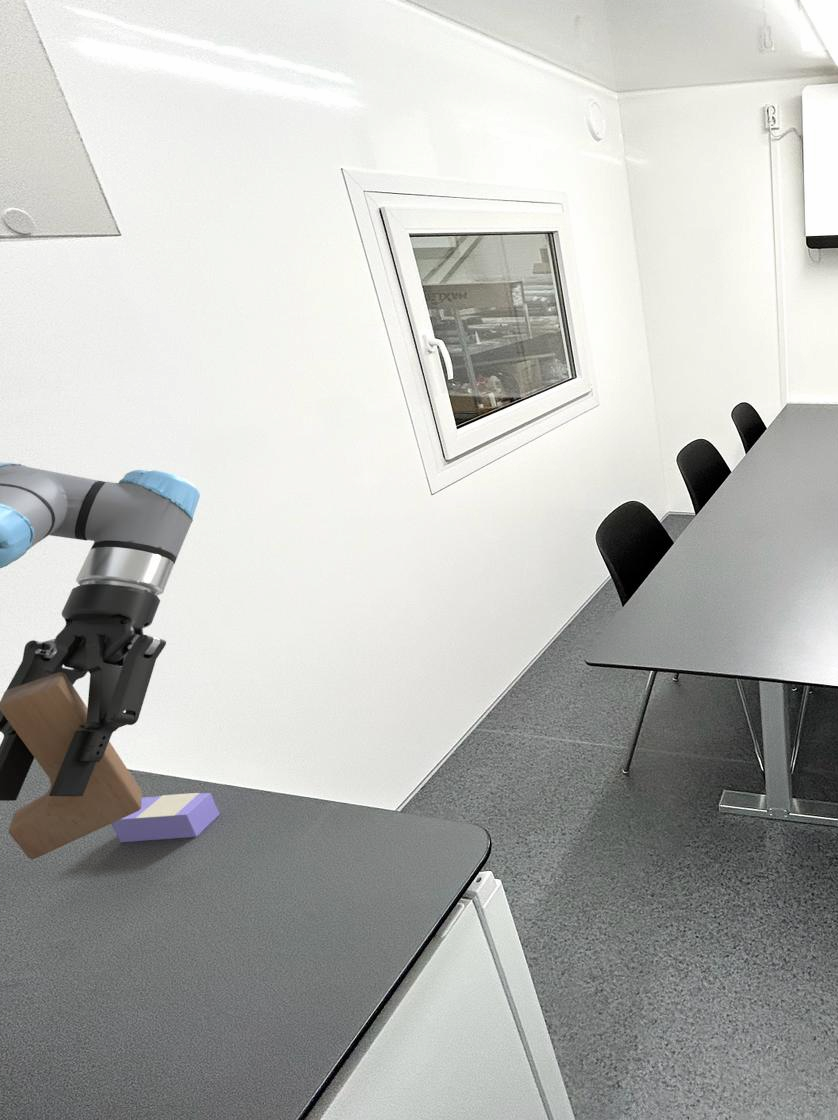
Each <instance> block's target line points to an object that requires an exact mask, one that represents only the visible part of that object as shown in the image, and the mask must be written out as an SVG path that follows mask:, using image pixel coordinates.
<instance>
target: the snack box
mask: <svg viewBox="0 0 838 1120" xmlns="http://www.w3.org/2000/svg"><path fill="white" fill-rule="evenodd" d="M220 814H221V813H220V811H219V810H218V807H217V804H216V802H215V800H214V798H213V796H212V794H211V792H204V793H203V792H201V793H200V792H190V793H189V792H188V793H177V794H175V793H174V794H163V795H161V796H159V795H158V796H146V797H145V796H144V797H142V805H141V809H140V810H139V811H137V812H135V813H133V814H131V815H128V816H126V817H124V818H122V819H120V820H118V821H115V822H113V823H111V824H110V825H111V826H112V828H113V830H114V832H115V834H116V836H117V838H118V839H119V841H120V843H132V842H133V843H134V842H144V841H145V842H147V841H158V840H160V841H161V840H172V839H185V838H197V837H198V836H200V835H201V833H203V831H205V829H206V828H208V827H209V826H210V825H211V824H212V823H213V822H214V821H216V819H217V818H218V817H219V816H220Z"/></svg>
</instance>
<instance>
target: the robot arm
mask: <svg viewBox="0 0 838 1120" xmlns="http://www.w3.org/2000/svg"><path fill="white" fill-rule="evenodd" d="M200 497H201V496H200V491H199V490H198V488H197V486H195V484H193V482H190V481H189V480H187V479H185V478H183V477H181V476H178V475H175V474H172V473H169V472H164V471H159V470H154V469H153V470H146V469H135V470H131V471H129V472H127V473H125V474H124V476H123V478H121V479H119V481H118V482H112V481H103V480H99V479H98V480H97V479H94V478H87V477H81V476H76V475H73V474H66V473H61V472H57V471H51V470H46V469H41V468H35V467H30V466H27V465H24V464H21V463H16V462H1V461H0V569H2V568H5V567H7V566H9V565H10V564H12V563H14V562H16V561H18V560H19V559H20V558H22V557H23V556H24V555H26V553H27V552H28V551H29V550H30V549H31V548H33V547H34V546H35V545H37V544H38V543H40V542H41V541H42V540H44V539H46V538H47V537H48V536H50V537H51V536H52V537H59V538H64V539H65V538H66V539H73V540H78V541H79V540H81V541H91V542H93V544H92V546H91V548H90V550H89V551H88V553H87V556H86V558H85V560H84V562H83V564H82V566H81V568H80V571H79V572H78V575H77V576H76V578H75V579H76V580H75V582H76V583H77V586H75V587H73V588H72V589H71V591H70V593H69V595H68V598H67V600H66V602H65V604H64V606H63V609H62V611H61V617H62V618H63V619H64V621H65V625H64V626H63V628H62V629H61V631H60V632H59V633H57V635H56V636H55V638H53V639H48V640H45V641H39V640H34V639H33V640H32V639H31V640H30V641H28V642H26V643H25V645H24V648H23V655H22V660H21V662H20V664H19V666H18V668H17V670H16V672H15V673H14V674H13V675H14V676H13V677H12V678H11V681H10V682H9V685H8V686H7V689H6V690H5V691H7V690H8V689H11V688H14V687H17V686H20V685H23V684H26V683H29V682H32V681H35V680H38V679H41V678H44V677H47V676H49V675H52V674H55V673H60V672H63V673H64V674H65V675H66V676H67V678H68V679H69V681H70V682H71V684H72V685H73V686H74V684H75V683H76V682H77V681H78V680H80V679H82V678H84V677H85V676H86V675H87V673H89V686H88V696H87V697H88V698H87V708H88V709H87V721H86V723H84V724H82V725H79V727H80V728H81V729H88V730H89V731H75V734H74V736H73V739H72V741H71V743H70V746H69V748H68V751H67V753H66V756H65V758H64V760H63V763H62V765H61V768H60V770H59V773H58V775H57V777H56V780H55V782H54V785H53V787H52V789H51V792H50V794H49V796H75V797H76V796H83V794H84V792H85V789H86V787H87V784H88V782H89V779H90V776H91V774H92V771H93V769H94V766H95V764H96V762H99V761H100V760H101V759H102V758H103V756H104V753H105V750H106V747H107V745H108V743H109V742H110V740H111V737H112V735H113V733H114V732H116V731H117V730H119V728H122V727H125V726H133V725H135V724H136V723H137V722H138V720H139V718H140V715H141V711H142V707H143V705H144V701H145V698H146V694H147V692H148V688H149V685H150V682H151V678H152V675H153V671H154V668H155V665H156V662H157V659H158V657H160V654H161V653H162V651H163V650H164V649H165V647H166V646H167V645H166V644H167V641H166V640H165V639H162V638H159V637H156V636H152V635H148V634H144V629H146V628H148V627H149V626H151V625H152V624H153V622H154V619H155V617H156V613H157V611H158V609H159V606H160V603H161V599H160V598H159V596H160V595H162V594H163V593H164V592H165V589H166V587H167V584H168V582H169V579H170V577H171V574H172V571H173V569H174V567H175V564H176V562H177V559H178V556H179V554H180V552H181V549H182V546H183V545H184V542H185V539H186V537H187V536H188V532H189V530H190V528H191V525H192V523H193V521H194V515H195V513H196V510H197V507H198V503H199V499H200ZM0 733H2V735H3V739H2V740H1V743H0V801H1V802H3V801H4V802H11V801H17V799H18V797H19V795H20V792H21V790H22V787H23V785H24V784H25V781H26V778H27V776H28V773H29V771H30V769H31V767H32V765H33V762H34V760H35V757H34V756H33V755H32V753H31V752H30V751H29V749H28V748H27V746H26V745H25V744H24V742H23V741H22V739H21V738H20V737H19V735H18V734H17V732H16V731H15V730H14V728H13V727H12V726H11V724H10V723H9V721H8V720H7V719H6V717H5V716H4V714H3V713H2V712H1V710H0Z"/></svg>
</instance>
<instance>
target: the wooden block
mask: <svg viewBox="0 0 838 1120" xmlns="http://www.w3.org/2000/svg"><path fill="white" fill-rule="evenodd" d="M6 690H7V689H6ZM6 690H5V691H4V692H3V694H2V697H1V699H0V710H1V712H2V713H3V714H4V716H5V717H6V719H7V720H8V721H9V723H10V724H11V726H12V727H13V728H14V730H15V731H16V732H17V734H18V735H19V737H20V738H21V739H22V741H23V742H24V744H25V745H26V746H27V748H28V749H29V751H30V752H31V753H32V755H33V756H34V757H35V758H34V760H36V762H37V763H38V765H39V766H40V768H41V769H42V770H43V772H44V773H45V774H46V776H47V777H48V779H49V783H50V787H49V789H48V790H47V792H46V793H45V794H44V795H42V796H40V797H37V798H36V799H34V800H33V801H31V802H29V803H27V804H25V805H24V806H21V807H20V808H18V809H16V810H15V812H13V815H12V818H11V821H10V824H9V828H8V834H9V835H10V836H11V838H12V840H14V842H15V843H16V844H17V846H19V848H20V849H21V851H22V852H23V853H24V854H25V856H26V857H27V858H28V859H30V860H35V859H37V858H40V857H42V856H44V855H46V854H48V853H50V852H53V851H55V850H57V849H59V848H62V847H64V846H65V845H68V844H70V843H72V842H74V841H76V840H78V839H80V838H83V837H85V836H87V835H90V834H91V833H94V832H96V831H97V830H98V831H99V830H100V829H103V828H104V827H107V826H109V825H111V823H113V822H115V821H118V820H120V819H122V818H124V817H126V816H128V815H131V814H133V813H135V812H137V811H139V810H140V809H141V805H142V798H143V790H142V789H141V787H140V785H139V784H138V783H137V781H136V780H135V778H134V777H133V775H132V773H131V772H130V771H129V769H128V768H127V766H126V765H125V763H124V761H123V760H122V758H121V757H120V756H119V754H118V752H117V751H116V749H115V748H114V746H113V745H112V743H111V741H109V743H108V745H107V747H106V750H105V753H104V756H103V758H102V759H101V760H100V761H99V762H96V764H95V766H94V769H93V771H92V774H91V776H90V779H89V782H88V784H87V787H86V789H85V792H84V794H83V796H76V797H75V796H49V794H50V792H51V789H52V787H53V785H54V782H55V780H56V777H57V775H58V773H59V770H60V768H61V765H62V763H63V760H64V758H65V756H66V753H67V751H68V748H69V746H70V743H71V741H72V739H73V736H74V734H75V731H89V730H88V729H81V728H80V727H79V725H82V724H84V723H86V721H87V709H88V706H87V705H86V703H85V702H84V700H83V699H82V697H81V695H80V694H79V692H78V691H77V690H76V688H75V687H74V684H73V685H72V684H71V682H70V681H69V679H68V678H67V676H66V675H65V674H64V673H63V672H60V673H55V674H52V675H49V676H47V677H44V678H41V679H38V680H35V681H32V682H29V683H26V684H23V685H20V686H17V687H14V688H11V689H8V690H7V691H6Z"/></svg>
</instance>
